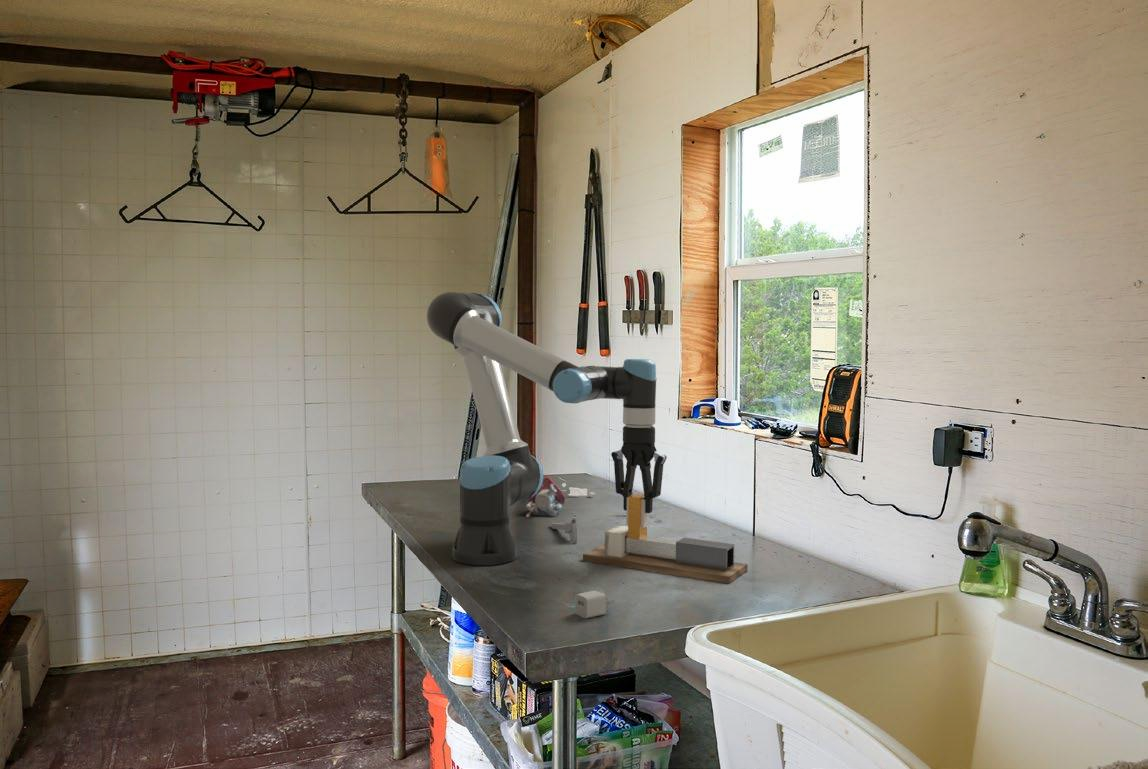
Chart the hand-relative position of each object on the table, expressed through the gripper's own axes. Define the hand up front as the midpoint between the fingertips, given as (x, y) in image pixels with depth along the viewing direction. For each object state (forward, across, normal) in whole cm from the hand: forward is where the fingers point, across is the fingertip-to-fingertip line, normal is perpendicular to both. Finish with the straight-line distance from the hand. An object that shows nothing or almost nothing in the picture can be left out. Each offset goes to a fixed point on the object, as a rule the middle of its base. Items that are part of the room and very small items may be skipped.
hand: (637, 525), depth 209 cm
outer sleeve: (+7, -17, 0) cm, 18 cm away
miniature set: (+9, +63, -60) cm, 88 cm away
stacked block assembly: (+6, -6, 0) cm, 9 cm away
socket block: (+7, +4, 0) cm, 8 cm away
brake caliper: (+9, +46, -34) cm, 57 cm away
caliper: (+9, +28, -14) cm, 33 cm away
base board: (+9, -7, 0) cm, 11 cm away
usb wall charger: (+9, -10, +38) cm, 40 cm away
